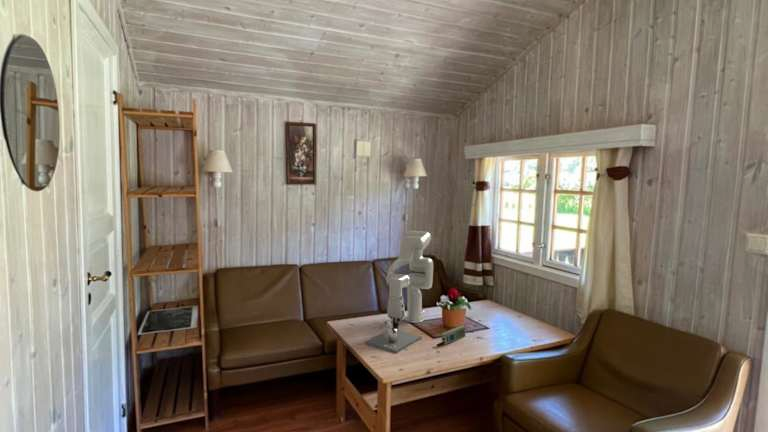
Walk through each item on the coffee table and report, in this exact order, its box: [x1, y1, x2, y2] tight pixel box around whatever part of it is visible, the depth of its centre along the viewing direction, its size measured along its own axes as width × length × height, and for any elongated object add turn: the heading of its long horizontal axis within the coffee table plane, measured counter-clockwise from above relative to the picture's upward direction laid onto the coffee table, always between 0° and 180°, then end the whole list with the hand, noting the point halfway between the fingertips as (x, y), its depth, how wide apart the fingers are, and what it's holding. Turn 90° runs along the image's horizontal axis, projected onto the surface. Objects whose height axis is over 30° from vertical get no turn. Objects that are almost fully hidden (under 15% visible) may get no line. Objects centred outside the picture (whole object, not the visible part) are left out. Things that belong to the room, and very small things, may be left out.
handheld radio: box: [436, 325, 466, 347], centre depth 250 cm, size 7×3×25 cm
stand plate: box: [364, 329, 423, 354], centre depth 250 cm, size 26×22×2 cm
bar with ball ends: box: [384, 319, 398, 343], centre depth 251 cm, size 25×5×8 cm, turn 10°
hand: (395, 328), depth 254 cm, fingers closed
